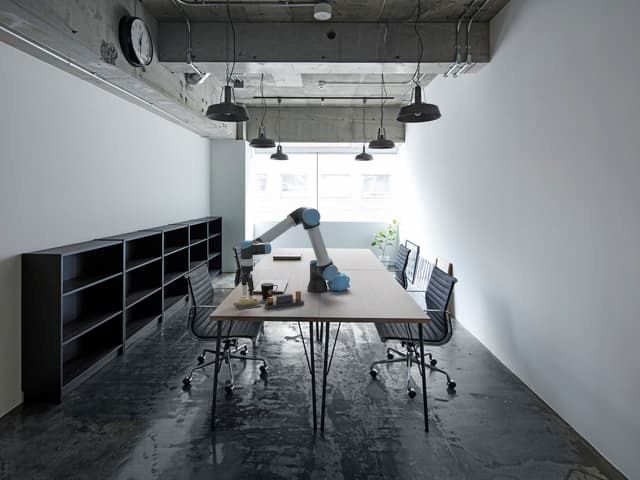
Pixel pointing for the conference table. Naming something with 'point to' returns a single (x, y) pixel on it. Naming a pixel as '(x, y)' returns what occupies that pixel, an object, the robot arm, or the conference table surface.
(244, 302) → the tan rectangular brick
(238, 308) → the rubber mat
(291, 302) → the hand plane
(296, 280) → the conference table surface
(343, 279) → the decorative pot
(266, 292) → the coffee mug
